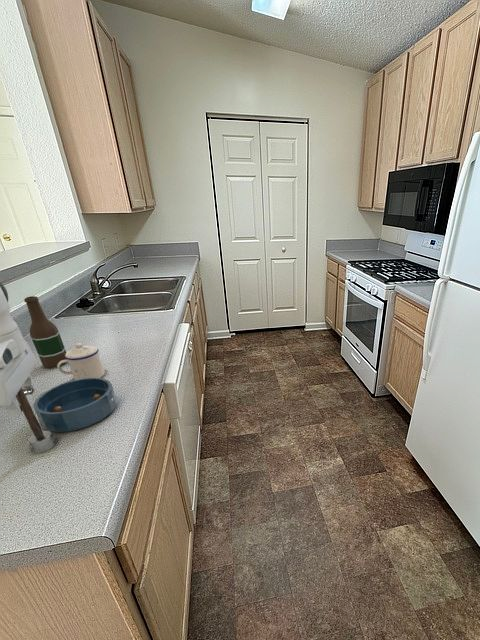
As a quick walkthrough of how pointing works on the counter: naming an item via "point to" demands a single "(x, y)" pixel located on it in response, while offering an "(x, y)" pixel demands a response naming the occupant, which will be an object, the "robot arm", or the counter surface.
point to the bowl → (75, 404)
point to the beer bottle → (45, 335)
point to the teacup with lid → (83, 362)
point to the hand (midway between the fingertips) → (24, 403)
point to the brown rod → (35, 427)
